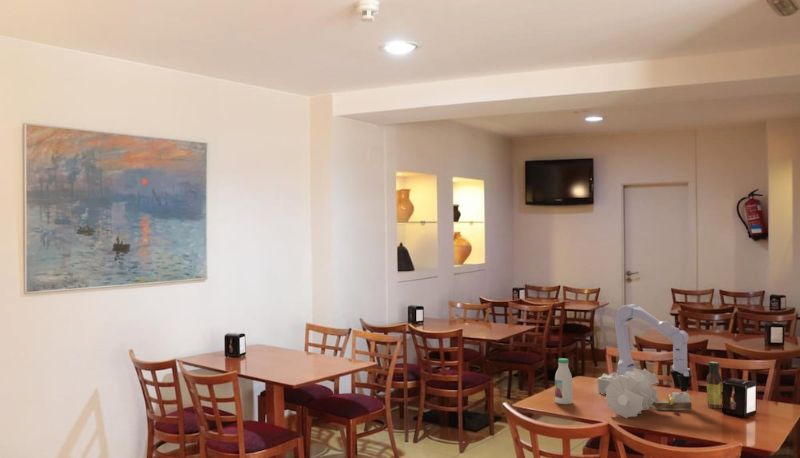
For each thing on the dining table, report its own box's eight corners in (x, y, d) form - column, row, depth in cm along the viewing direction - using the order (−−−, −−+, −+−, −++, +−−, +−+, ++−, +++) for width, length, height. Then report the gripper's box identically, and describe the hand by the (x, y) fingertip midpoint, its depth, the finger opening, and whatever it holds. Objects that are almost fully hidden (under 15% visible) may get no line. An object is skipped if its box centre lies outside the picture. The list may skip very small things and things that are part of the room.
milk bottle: (570, 400, 300) (570, 357, 300) (573, 405, 292) (573, 360, 292) (554, 400, 300) (553, 357, 301) (556, 404, 293) (555, 360, 293)
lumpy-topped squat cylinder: (595, 392, 314) (594, 374, 315) (610, 388, 323) (610, 371, 323) (614, 396, 306) (613, 378, 306) (629, 392, 315) (628, 374, 315)
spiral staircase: (612, 427, 272) (632, 410, 292) (651, 415, 262) (669, 399, 281) (593, 385, 276) (614, 372, 296) (630, 372, 266) (649, 360, 286)
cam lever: (673, 405, 278) (673, 399, 278) (669, 404, 279) (669, 398, 279) (672, 400, 286) (672, 394, 286) (667, 400, 287) (667, 394, 287)
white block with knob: (675, 402, 283) (675, 393, 283) (671, 400, 288) (671, 391, 288) (689, 402, 283) (689, 393, 283) (685, 400, 287) (685, 391, 287)
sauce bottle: (724, 409, 283) (724, 364, 283) (709, 408, 284) (708, 363, 284) (720, 405, 289) (719, 361, 289) (705, 405, 290) (704, 360, 290)
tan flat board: (655, 409, 283) (655, 403, 283) (651, 406, 289) (651, 399, 289) (692, 410, 282) (692, 403, 282) (686, 406, 288) (686, 399, 288)
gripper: (696, 361, 278) (696, 393, 278) (683, 355, 292) (683, 385, 292) (679, 361, 278) (679, 393, 278) (667, 355, 293) (667, 385, 293)
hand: (680, 389), depth 285 cm, fingers open, 7 cm apart
